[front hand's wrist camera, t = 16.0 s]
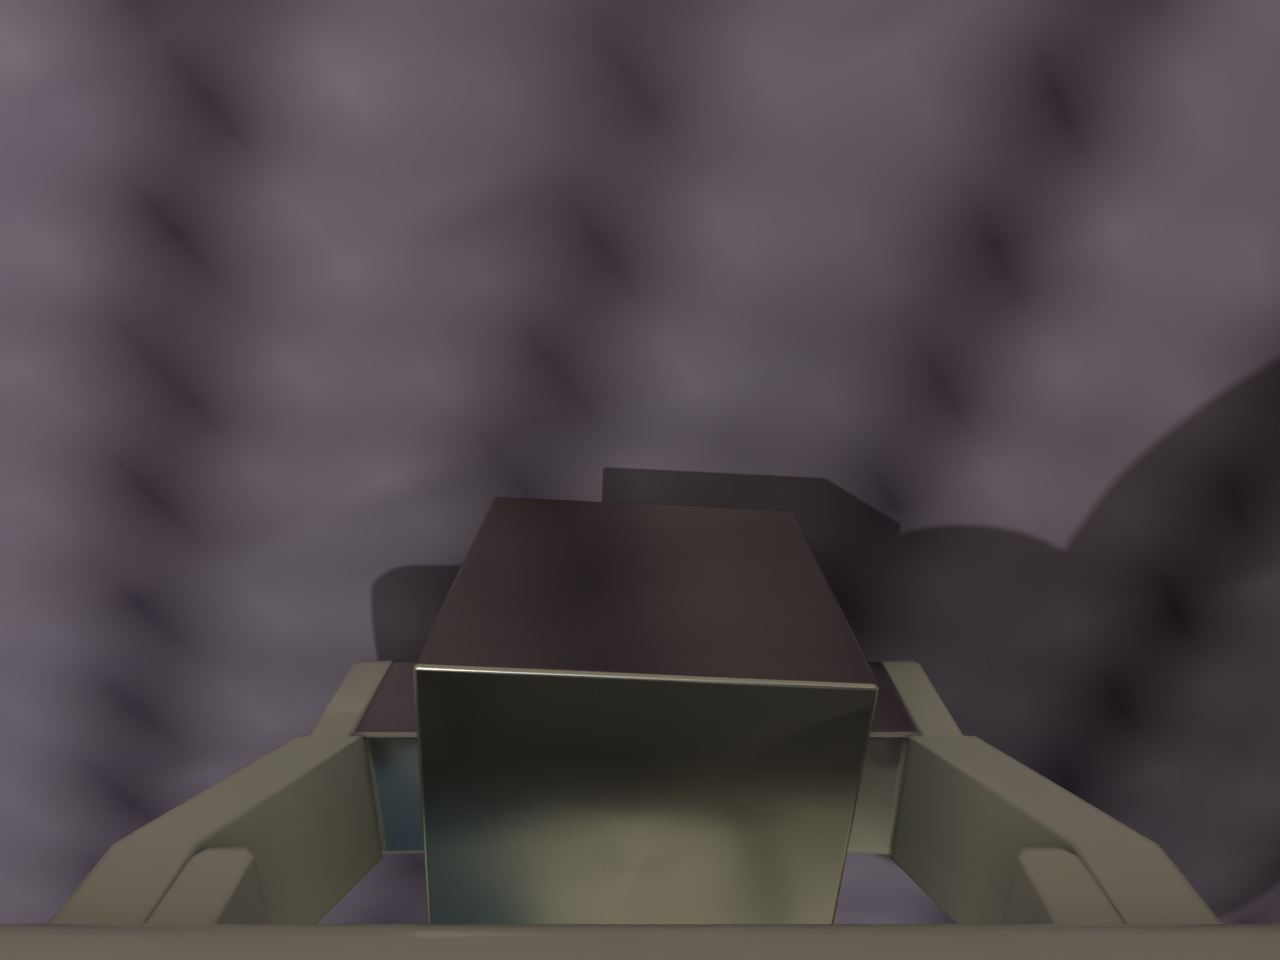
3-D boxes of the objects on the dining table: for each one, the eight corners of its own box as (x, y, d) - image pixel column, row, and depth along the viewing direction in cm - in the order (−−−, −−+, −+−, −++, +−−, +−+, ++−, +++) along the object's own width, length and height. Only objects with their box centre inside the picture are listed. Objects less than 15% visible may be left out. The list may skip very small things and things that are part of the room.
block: (493, 495, 11) (410, 664, 7) (794, 509, 12) (882, 686, 7) (497, 757, 13) (432, 1017, 9) (759, 769, 13) (814, 1030, 9)
